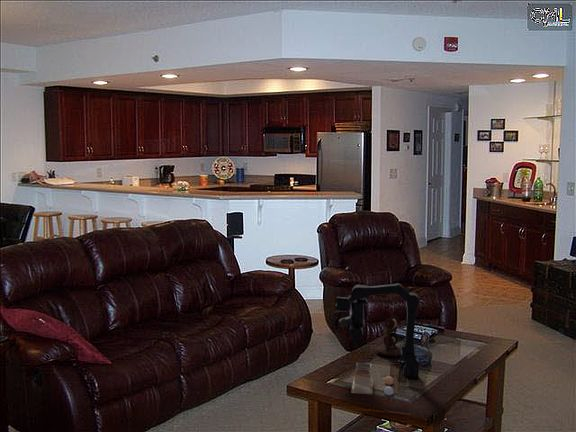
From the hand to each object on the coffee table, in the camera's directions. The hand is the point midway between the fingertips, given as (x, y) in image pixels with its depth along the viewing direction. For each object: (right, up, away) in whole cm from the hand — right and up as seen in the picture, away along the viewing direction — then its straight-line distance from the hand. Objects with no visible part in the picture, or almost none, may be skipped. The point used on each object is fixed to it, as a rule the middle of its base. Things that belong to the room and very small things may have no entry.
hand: (356, 344), depth 307 cm
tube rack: (+1, -16, -18) cm, 24 cm away
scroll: (+21, -12, +32) cm, 40 cm away
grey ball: (+11, -17, -26) cm, 33 cm away
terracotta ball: (+13, -16, -13) cm, 24 cm away
